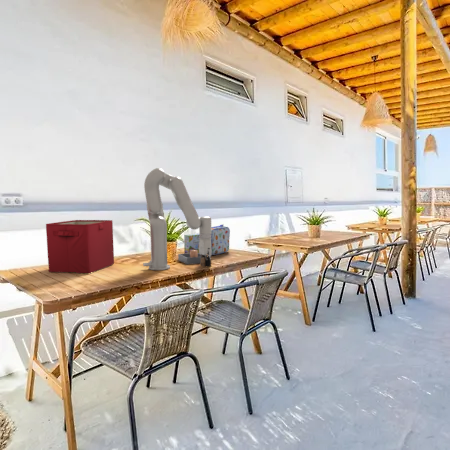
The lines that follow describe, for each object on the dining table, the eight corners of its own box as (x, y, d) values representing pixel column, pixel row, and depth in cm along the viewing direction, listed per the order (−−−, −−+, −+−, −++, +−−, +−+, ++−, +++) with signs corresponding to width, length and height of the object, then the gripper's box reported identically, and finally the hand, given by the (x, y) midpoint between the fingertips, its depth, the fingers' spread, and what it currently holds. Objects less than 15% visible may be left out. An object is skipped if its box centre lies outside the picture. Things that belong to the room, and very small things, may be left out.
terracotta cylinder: (191, 262, 218) (191, 251, 217) (189, 260, 222) (188, 250, 222) (198, 261, 220) (198, 250, 219) (196, 260, 224) (196, 249, 224)
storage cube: (87, 275, 186) (85, 223, 184) (44, 273, 191) (42, 223, 189) (117, 263, 217) (115, 219, 215) (79, 262, 223) (78, 219, 220)
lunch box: (220, 250, 268) (220, 223, 267) (231, 251, 263) (231, 223, 261) (200, 255, 245) (200, 226, 243) (212, 257, 240) (212, 226, 238)
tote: (186, 264, 213) (186, 258, 213) (178, 259, 229) (178, 254, 229) (206, 262, 219) (206, 256, 219) (196, 258, 235) (196, 252, 235)
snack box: (189, 255, 247) (189, 235, 246) (184, 254, 251) (183, 234, 249) (207, 251, 264) (207, 232, 263) (202, 251, 268) (202, 232, 266)
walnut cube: (203, 266, 206) (203, 258, 205) (200, 265, 210) (200, 257, 210) (211, 266, 208) (211, 258, 208) (207, 264, 212) (207, 257, 212)
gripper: (194, 235, 214) (195, 263, 215) (205, 238, 198) (205, 268, 200) (205, 234, 217) (206, 262, 218) (216, 237, 202) (217, 266, 203)
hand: (205, 264), depth 209 cm, fingers open, 5 cm apart
